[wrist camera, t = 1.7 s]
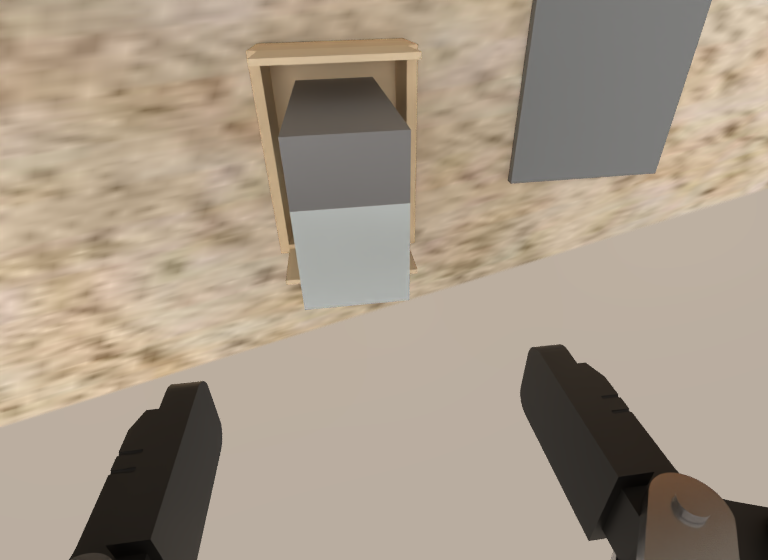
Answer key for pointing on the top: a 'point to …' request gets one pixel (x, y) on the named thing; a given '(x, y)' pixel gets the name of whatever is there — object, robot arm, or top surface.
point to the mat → (601, 86)
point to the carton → (327, 61)
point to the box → (347, 192)
